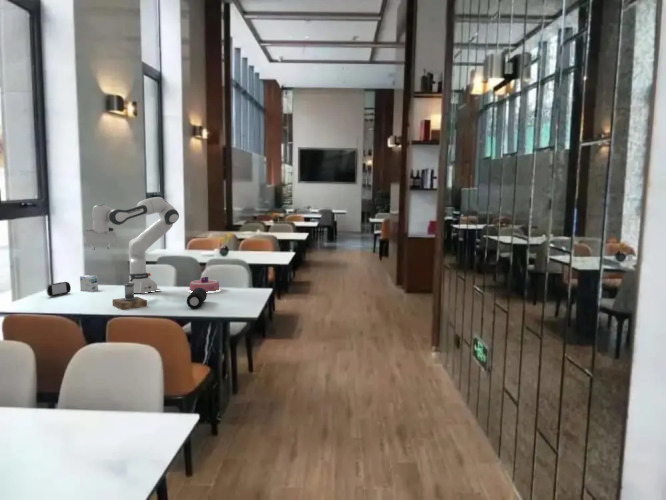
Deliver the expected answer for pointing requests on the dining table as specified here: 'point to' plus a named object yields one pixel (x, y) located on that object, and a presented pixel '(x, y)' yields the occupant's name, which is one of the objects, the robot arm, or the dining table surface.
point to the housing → (129, 291)
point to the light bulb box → (88, 283)
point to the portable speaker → (196, 298)
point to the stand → (129, 303)
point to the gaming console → (58, 289)
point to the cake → (205, 284)
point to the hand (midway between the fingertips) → (100, 249)
